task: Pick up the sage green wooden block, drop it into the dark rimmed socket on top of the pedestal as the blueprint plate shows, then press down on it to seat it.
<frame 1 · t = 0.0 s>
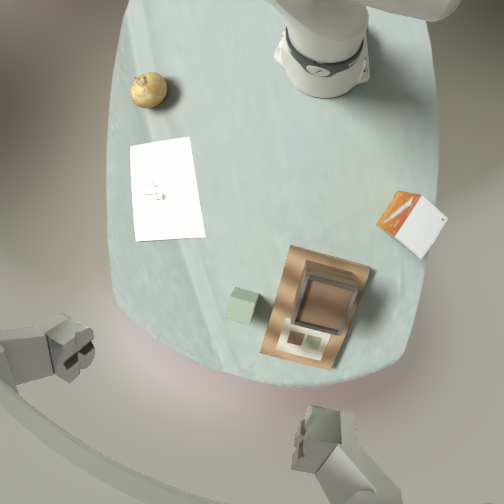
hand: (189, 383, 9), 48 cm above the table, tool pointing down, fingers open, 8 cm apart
paper sheet: (190, 188, 58), on the table
onion: (155, 93, 54), on the table
sage block: (244, 301, 61), on the table
oak base board: (312, 310, 58), on the table
small box: (398, 216, 51), on the table
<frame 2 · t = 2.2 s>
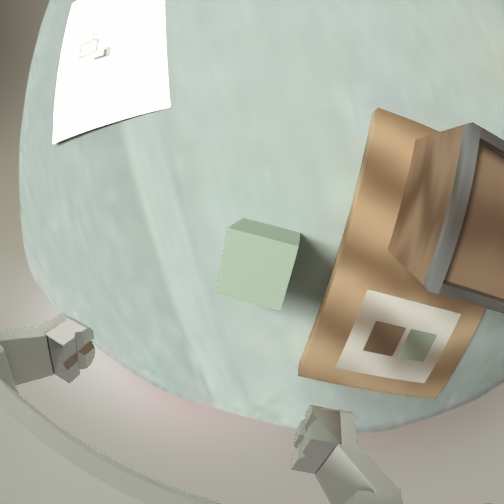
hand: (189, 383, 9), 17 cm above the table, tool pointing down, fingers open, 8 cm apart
paper sheet: (157, 29, 22), on the table
sage block: (264, 253, 25), on the table
oak base board: (419, 273, 23), on the table
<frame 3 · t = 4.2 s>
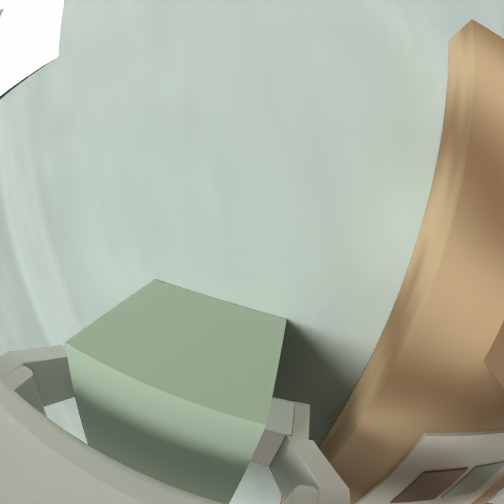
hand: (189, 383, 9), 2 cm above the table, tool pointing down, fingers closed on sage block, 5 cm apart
sage block: (207, 354, 11), on the table, touching gripper
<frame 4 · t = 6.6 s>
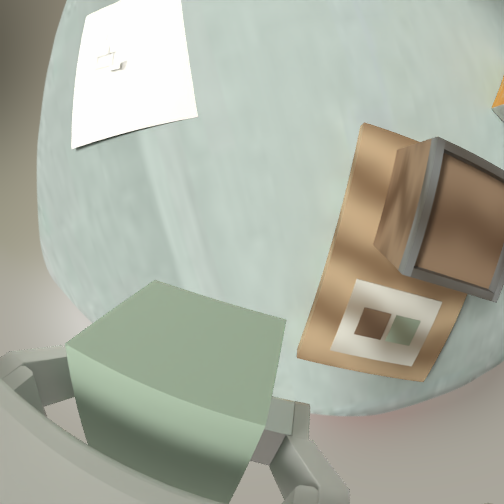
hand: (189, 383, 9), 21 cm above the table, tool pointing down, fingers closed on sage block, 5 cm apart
paper sheet: (169, 46, 26), on the table
sage block: (206, 355, 11), point 19 cm above the table, touching gripper
oak base board: (403, 265, 27), on the table
when the fingers open (13 cm above the table, at t = 9.0 s): sage block drops 1 cm, resting on oak base board.
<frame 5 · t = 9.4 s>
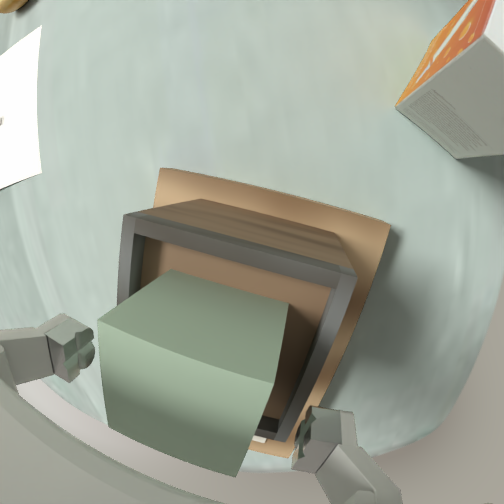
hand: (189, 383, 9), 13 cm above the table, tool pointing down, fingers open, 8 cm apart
paper sheet: (31, 97, 23), on the table
sage block: (216, 337, 12), point 10 cm above the table, touching oak base board
oak base board: (239, 337, 23), on the table
small box: (444, 97, 16), on the table
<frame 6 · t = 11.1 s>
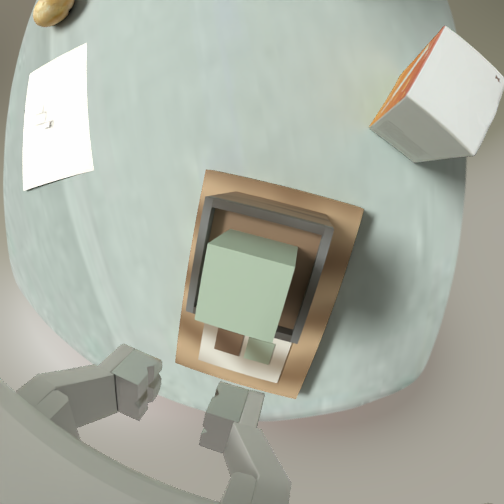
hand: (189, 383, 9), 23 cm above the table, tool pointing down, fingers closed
paper sheet: (81, 105, 32), on the table
onion: (64, 12, 28), on the table
sage block: (255, 270, 22), point 10 cm above the table, touching oak base board
oak base board: (259, 293, 33), on the table
small box: (407, 118, 25), on the table
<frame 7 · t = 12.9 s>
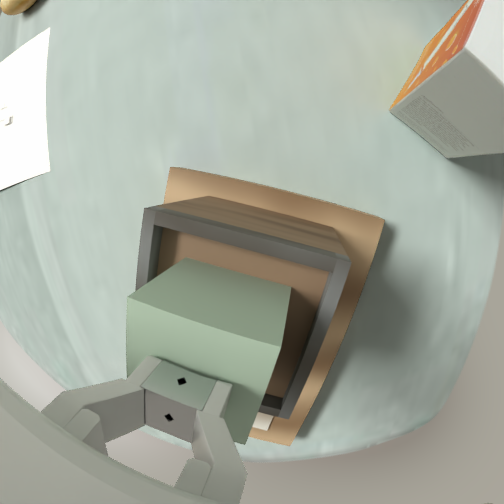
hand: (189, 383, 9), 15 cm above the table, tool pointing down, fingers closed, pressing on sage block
paper sheet: (40, 97, 24), on the table
sage block: (226, 319, 14), point 10 cm above the table, touching gripper, oak base board
oak base board: (243, 326, 25), on the table
small box: (436, 100, 18), on the table
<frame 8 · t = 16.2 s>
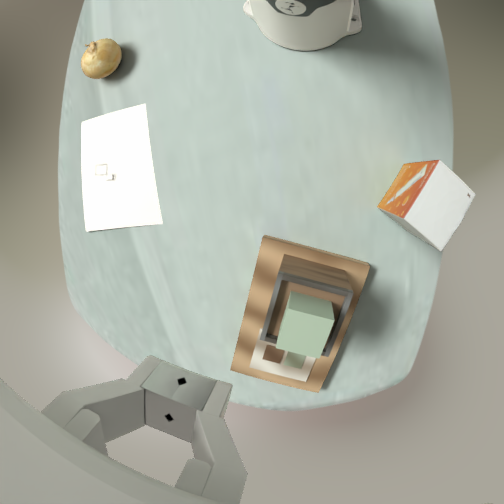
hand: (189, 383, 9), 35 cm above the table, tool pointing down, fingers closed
paper sheet: (144, 165, 45), on the table
onion: (110, 63, 41), on the table
sage block: (305, 314, 35), point 10 cm above the table, touching oak base board
oak base board: (295, 319, 46), on the table
small box: (405, 197, 38), on the table
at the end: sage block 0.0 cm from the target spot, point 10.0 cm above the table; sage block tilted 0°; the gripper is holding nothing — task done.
